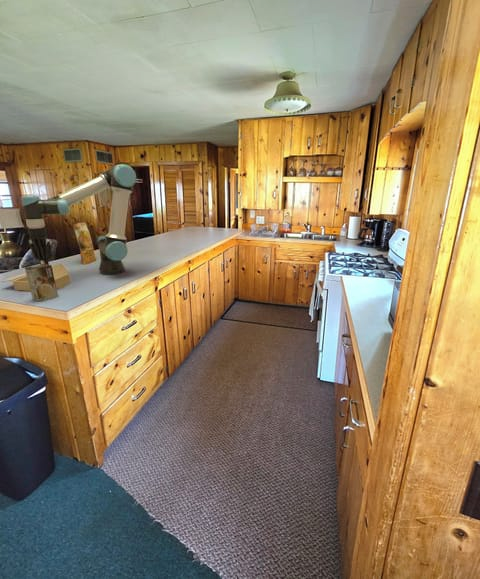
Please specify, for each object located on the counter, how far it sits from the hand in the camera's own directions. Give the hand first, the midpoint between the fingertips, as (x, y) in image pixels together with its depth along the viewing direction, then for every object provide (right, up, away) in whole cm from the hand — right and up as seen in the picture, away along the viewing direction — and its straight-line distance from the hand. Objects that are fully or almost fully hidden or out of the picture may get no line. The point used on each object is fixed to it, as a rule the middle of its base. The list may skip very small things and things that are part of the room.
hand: (46, 272), depth 157 cm
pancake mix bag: (-7, +10, +56) cm, 58 cm away
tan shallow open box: (-3, -8, +3) cm, 9 cm away
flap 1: (-14, -2, +2) cm, 14 cm away
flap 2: (+8, -3, 0) cm, 9 cm away
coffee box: (+9, -14, -13) cm, 21 cm away
